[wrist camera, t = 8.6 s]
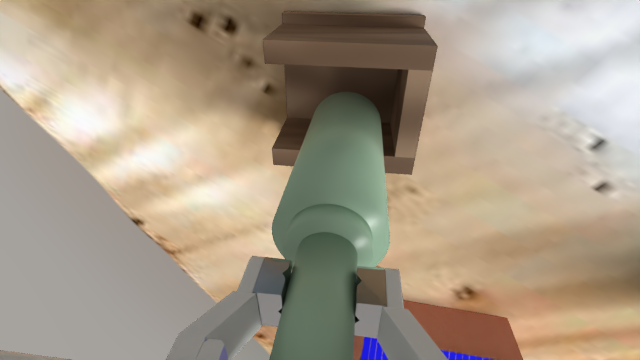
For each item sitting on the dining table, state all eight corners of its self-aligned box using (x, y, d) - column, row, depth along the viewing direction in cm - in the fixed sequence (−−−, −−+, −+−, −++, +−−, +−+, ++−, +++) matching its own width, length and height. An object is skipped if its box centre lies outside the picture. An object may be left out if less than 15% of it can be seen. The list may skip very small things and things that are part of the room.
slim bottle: (311, 90, 23) (168, 391, 7) (384, 92, 22) (425, 427, 6) (312, 153, 26) (214, 478, 9) (377, 157, 25) (394, 508, 9)
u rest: (284, 11, 26) (261, 27, 21) (423, 15, 25) (440, 32, 20) (290, 134, 33) (273, 172, 27) (402, 141, 32) (410, 182, 26)
